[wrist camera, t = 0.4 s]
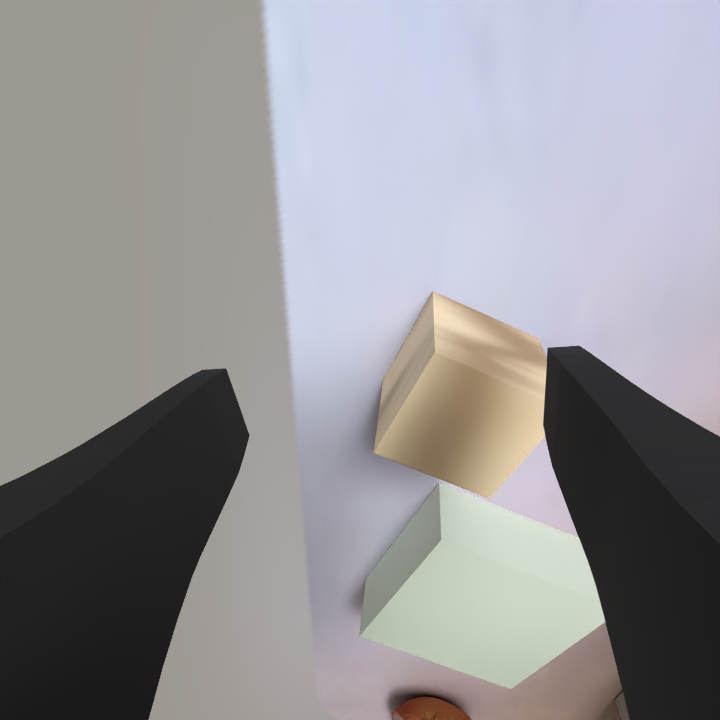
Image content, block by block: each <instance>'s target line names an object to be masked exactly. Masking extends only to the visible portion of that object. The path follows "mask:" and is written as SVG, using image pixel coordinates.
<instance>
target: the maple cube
mask: <svg viewBox="0 0 720 720" xmlns="http://www.w3.org/2000/svg"><path fill="white" fill-rule="evenodd" d="M546 369H547V358H546V355H545V353H544V350H543V348H542V346H541V343H540V341H539V338H536V337H534V336H532V335H530V334H528V333H525V332H523V331H521V330H519V329H516V328H514V327H512V326H510V325H507V324H505V323H503V322H501V321H499V320H496V319H494V318H492V317H490V316H487V315H485V314H483V313H481V312H478V311H476V310H474V309H472V308H470V307H467V306H465V305H463V304H461V303H458V302H456V301H454V300H452V299H450V298H447V297H445V296H443V295H441V294H438V293H436V292H434V291H433V292H432V294H431V295H430V297H429V299H428V301H427V302H426V304H425V306H424V308H423V310H422V311H421V313H420V315H419V317H418V319H417V320H416V322H415V324H414V326H413V328H412V329H411V331H410V333H409V335H408V337H407V338H406V340H405V342H404V344H403V346H402V347H401V349H400V351H399V353H398V354H397V356H396V358H395V360H394V362H393V363H392V365H391V367H390V369H389V371H388V372H387V374H386V376H385V378H384V380H383V385H382V393H381V400H380V408H379V415H378V422H377V430H376V437H375V445H374V452H373V453H375V454H378V455H380V456H383V457H385V458H388V459H390V460H393V461H395V462H398V463H400V464H403V465H405V466H408V467H411V468H413V469H416V470H418V471H421V472H423V473H426V474H428V475H431V476H433V477H436V478H438V479H441V480H443V481H446V482H448V483H451V484H453V485H456V486H458V487H461V488H463V489H466V490H468V491H471V492H473V493H476V494H478V495H481V496H483V497H486V498H488V499H490V498H491V497H492V496H493V494H494V493H495V492H496V491H497V490H498V489H499V488H500V487H501V485H502V484H503V483H504V482H505V481H506V480H507V479H508V477H509V476H510V475H511V474H512V473H513V472H514V471H515V469H516V468H517V467H518V466H519V465H520V464H521V463H522V462H523V460H524V459H525V458H526V457H527V456H528V455H529V454H530V452H531V451H532V450H533V449H534V448H535V447H536V446H537V445H538V443H539V442H540V441H541V440H542V439H543V438H544V437H545V432H544V427H543V417H544V401H545V385H546Z"/></svg>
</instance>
